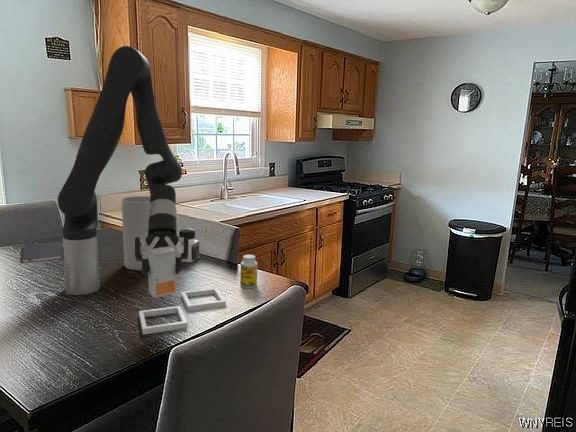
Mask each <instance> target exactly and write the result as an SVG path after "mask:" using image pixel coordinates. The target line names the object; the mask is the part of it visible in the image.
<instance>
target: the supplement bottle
mask: <svg viewBox="0 0 576 432" xmlns="http://www.w3.org/2000/svg"><path fill="white" fill-rule="evenodd" d="M242 257H243V258H242V261H241V262H240V274H239V275H240V276H239V277H240V279H239V284H240V285H239V286H240V287H243V288H244V289H245V288H246V289H251V288H252V287H253V288H255V287H256V286H257V285H258V262H257V261H256V255H254V254H244V255H243V256H242Z"/></svg>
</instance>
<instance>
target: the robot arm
mask: <svg viewBox="0 0 576 432" xmlns="http://www.w3.org/2000/svg"><path fill="white" fill-rule="evenodd" d="M108 63H109V64H108V66H107V71H106V75H105V79H104V81H103V86H102V89H101V91H100V94H99V96H98V98H97V101H96V104H95V106H94V108H93V111H92V113H91V115H90V118H89V120H88V122H87V126H86V128H85V130H84V132H83V135H82V139H81V141H80V144H79V148H78V151H77V153H76V156H75V161H74V164H73V166H72V169H71V171H70V173H69V175H68V177H67V179H66V180H65V183H64V184H63V186H62V187H61V189H60V191H59V193H58V195H57V206H58V208H59V210H60V211H61V213H62V214H63V215H64V222H63V225H62V226H63V227H62V242H63V243H62V244H63V245H62V246H63V256H64V257H63V258H64V264H63V267H64V268H63V270H64V272H63V273H64V284H65V295H66V296H69V295H72V296H83V295H84V296H85V295H90V294H93V293H96V292H97V291H99V289H100V284H101V283H100V271H99V268H100V267H99V253H98V232H97V230H98V229H97V228H98V198H97V194H96V186H97V185H98V180H99V179H100V176H101V174H102V172H103V171H104V169H105V168H106V166H107V165H108V163H109V161H110V160H111V158H112V156H113V155H114V153H115V151H116V149H117V148H118V144H119V142H120V140H121V137H122V134H123V131H124V127H125V119H126V107H127V103H128V99H129V96H130V94H131V96H132V100H133V103H134V104H133V105H134V108H135V109H134V110H135V111H134V112H135V121H136V127H137V131H138V135H139V138H140V141H141V145H142V149H143V151H144V153H145V155H152V156H153V155H159V156H160V157H161V158H162V159H163V160H160V161H156V162H151V163H150V164H148V165H147V166H146V167H145V169H144V177H145V180H146V183H147V186H148V191H149V197H150V208H149V218H148V236H147V237H146V238H145V239H140V238H139V237H136V238H135V258H136V261H141V262H142V270H141V271H142V274H143V275H144V276H145V277H149V276H148V249H156V248H161V247H171V248H173V249H174V250H175V256H176V275H179V273H181V271H182V262H183V261H182V260H183V259H188V245H189V238H188V236H184V237H179V235H178V234H177V233H178V214H177V213H178V212H177V206H176V205H177V204H176V201H177V199H176V197H177V196H176V190H175V188H174V187H173V186H171V185H169V184H172V183H176V182H178V181H180V180H181V178H182V175H183V170H182V167H181V165H180V163H179V161H178V159H177V158H176V157H175V155H174V153H173V152H172V150H171V148H170V146H169V144H168V141H167V137H166V134H165V131H164V128H163V124H162V121H161V118H160V115H159V114H160V113H159V111H158V108H157V107H158V106H157V103H156V99H155V94H154V88H153V80H152V72H151V66H150V63H149V60H148V59H147V58H146V56H145V55H144V54H142V52H140V51H138V50H137V49H136V48H134V47H132V46H129V45H123V46H120V47H118V48H116V50H115V51H114V52H113V53H112V55H111V56H110V59H109V62H108ZM178 242H180V243H181V245H182V246H184V250H183V253H181V254H180V253H179V251H178V250H177V248H176V247H175V246H176V245H177V243H178ZM145 243H146V244H147V245H148V246H149V247H148V248H147V250H146V252H145V254H144V255H141V247H143V246H144V244H145Z"/></svg>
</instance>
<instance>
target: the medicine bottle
mask: <svg viewBox="0 0 576 432" xmlns="http://www.w3.org/2000/svg"><path fill="white" fill-rule="evenodd" d="M184 236H188V238H189V245H188V259H183V260H182V261H181V262H184V263H193V262H194V261H196V260H198V259H199V258H200V240H199V239H196V230H194V229H192V228H181V229H180V230H179V231H178V237H184ZM175 247H176V248H177V250H178V251H179V253H180V254H181V253H183V250H184V246H182V245H181V243H180V242H178V243H177V245H176V246H175Z"/></svg>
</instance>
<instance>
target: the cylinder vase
mask: <svg viewBox="0 0 576 432" xmlns="http://www.w3.org/2000/svg"><path fill="white" fill-rule="evenodd" d="M149 208H150V195H149V196H148V195H147V196H146V195H145V196H143V195H137V196H136V195H135V196H134V195H133V196H127V197H126V196H125V197H123V198H121V215H122V217H121V219H122V239H123V240H122V242H123V243H122V244H123V264H124V267H125V268H126V269H128V270H131V271H142V262H141V261H136V258H135V238H136V237H139V238H140V239H145V238H146V237H147V236H148V218H149ZM148 247H149V246H148V245H147V244H146V243H145V244H144V246H143V247H141V255H144V254H145V252H146V250H147V248H148Z"/></svg>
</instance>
